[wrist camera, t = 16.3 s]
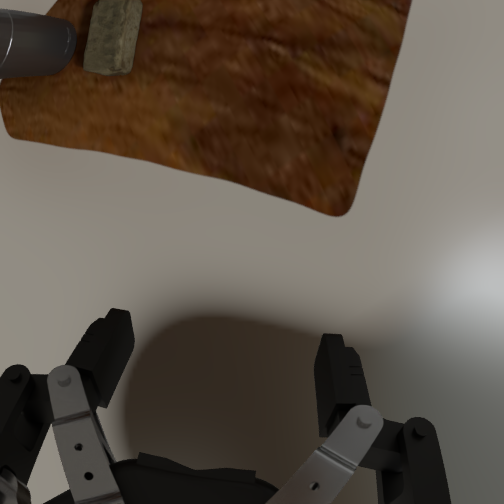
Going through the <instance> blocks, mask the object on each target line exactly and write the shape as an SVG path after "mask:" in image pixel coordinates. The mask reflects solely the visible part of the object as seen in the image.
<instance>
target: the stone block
mask: <svg viewBox="0 0 504 504" xmlns="http://www.w3.org/2000/svg"><path fill="white" fill-rule="evenodd" d="M141 14H142V2H141V1H140V0H98V2H96V3H95V5H94V7H93V13H92V18H91V23H90V28H89V34H88V39H87V44H86V48H85V53H84V63H83V69H84V70H85V71H90V72H95V73H99V74H102V75H106V76H115V75H126V74H128V73H130V71H131V68H132V65H133V58H134V54H135V46H136V40H137V37H138V30H139V23H140V20H141Z"/></svg>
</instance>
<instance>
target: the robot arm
mask: <svg viewBox="0 0 504 504" xmlns="http://www.w3.org/2000/svg"><path fill="white" fill-rule="evenodd" d="M76 42H77V35H76V30H75V28H74V26H73V25H72V24H71V22H69V21H67V20H64V19H60V18H55V17H51V16H46V15H40V14H35V13H29V12H22V11H16V10H8V9H0V79H3V78H13V77H26V76H45V75H53V74H55V73H57V72H59V71H60V70H62V69H63V68H64V67H65V66H66V65H67V64H68V62H69V61H70V59H71V57H72V55H73V53H74V50H75V48H76ZM134 342H135V338H134V332H133V327H132V321H131V316H130V312H129V311H126V310H120V309H115V308H112V309H110V311H109V312H108V314H107V315H106V317H105V318H99V319H97V320H96V321H94V322H93V323H92V324H91V325H90V326H89V328H88V329H87V331H86V332H85V334H84V335H83V337H82V338H81V341H80V342H79V343H78V345H77V346H76V348H75V349H74V351H73V353H72V354H71V356H70V357H69V359H68V361H67V362H66V364H65V365H61V366H58V367H56V368H54V369H53V370H52V371H51V372H50V373H49V374H47V375H44V374H30V372H29V370H28V368H26V367H25V366H24V365H18V364H17V365H12V366H10V367H9V368H7V369H6V370H5V371H4V373H3V374H2V376H1V377H0V504H31V495H30V491H29V489H28V487H27V483H28V480H29V477H30V475H31V472H32V469H33V467H34V464H35V462H36V459H37V456H38V454H39V451H40V449H41V446H42V444H43V441H44V439H45V436H46V434H47V432H48V429H49V427H50V424H52V427H53V431H54V436H55V440H56V443H57V447H58V451H59V455H60V458H61V462H62V465H63V468H64V472H65V475H66V478H67V481H68V484H69V487H70V489H69V490H67V491H65V492H64V493H62V494H60V495H58V496H56V497H54V498H53V499H51V500H49V501H47V502H45V503H43V504H331V502H332V501H333V500H334V499H335V497H336V496H337V495H338V493H339V492H340V491H341V489H342V488H343V487H344V485H345V484H346V483H347V481H348V480H349V479H350V477H351V476H352V474H353V473H354V471H355V470H356V467H357V466H361V467H365V468H370V469H374V470H376V479H377V492H378V504H451V500H450V494H449V488H448V483H447V478H446V474H445V468H444V464H443V459H442V455H441V450H440V446H439V442H438V438H437V434H436V430H435V428H434V426H433V425H432V423H431V422H429V421H428V420H426V419H425V418H421V417H414V418H411V419H409V420H408V421H407V422H406V423H405V424H402V423H398V422H394V421H389V420H386V419H384V418H382V415H381V414H380V413H379V411H378V410H376V409H375V408H373V407H372V406H371V402H370V398H369V393H368V389H367V385H366V381H365V377H364V372H363V369H362V364H361V360H360V357H359V355H358V354H357V353H356V351H355V350H354V349H353V348H352V347H345V345H344V341H343V337H342V335H341V334H326V333H324V334H323V335H322V338H321V342H320V345H319V348H318V352H317V355H316V358H315V364H314V379H315V390H316V399H317V412H318V424H319V437H328V439H327V440H326V441H325V442H324V443H323V445H322V446H321V447H318V448H317V449H316V450H315V451H314V453H313V454H312V455H311V456H310V457H309V458H308V459H307V460H306V462H305V463H304V464H303V465H302V466H301V467H300V468H299V469H298V470H297V472H296V473H295V474H294V475H293V476H292V477H291V478H290V479H289V480H288V481H287V482H286V483H285V484H284V486H282V487H281V488H280V490H279V489H278V488H276V487H275V486H274V485H272V484H270V483H268V482H266V481H264V480H262V479H259V478H255V474H256V471H252V470H240V469H232V468H219V469H208V470H193V469H191V468H188V467H186V466H183V465H181V464H179V463H176V462H174V461H172V460H169V459H167V458H163V457H158V456H154V455H150V454H145V453H141V452H139V455H138V459H127V460H122V461H119V462H116V460H115V458H114V455H113V454H112V452H111V449H110V447H109V444H108V442H107V439H106V437H105V434H104V431H103V429H102V426H101V423H100V420H99V417H98V415H97V413H96V409H97V407H98V406H100V407H103V408H107V407H108V404H109V402H110V400H111V398H112V395H113V393H114V391H115V389H116V386H117V384H118V382H119V380H120V377H121V375H122V373H123V371H124V369H125V367H126V365H127V362H128V360H129V358H130V356H131V354H132V352H133V349H134Z"/></svg>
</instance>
